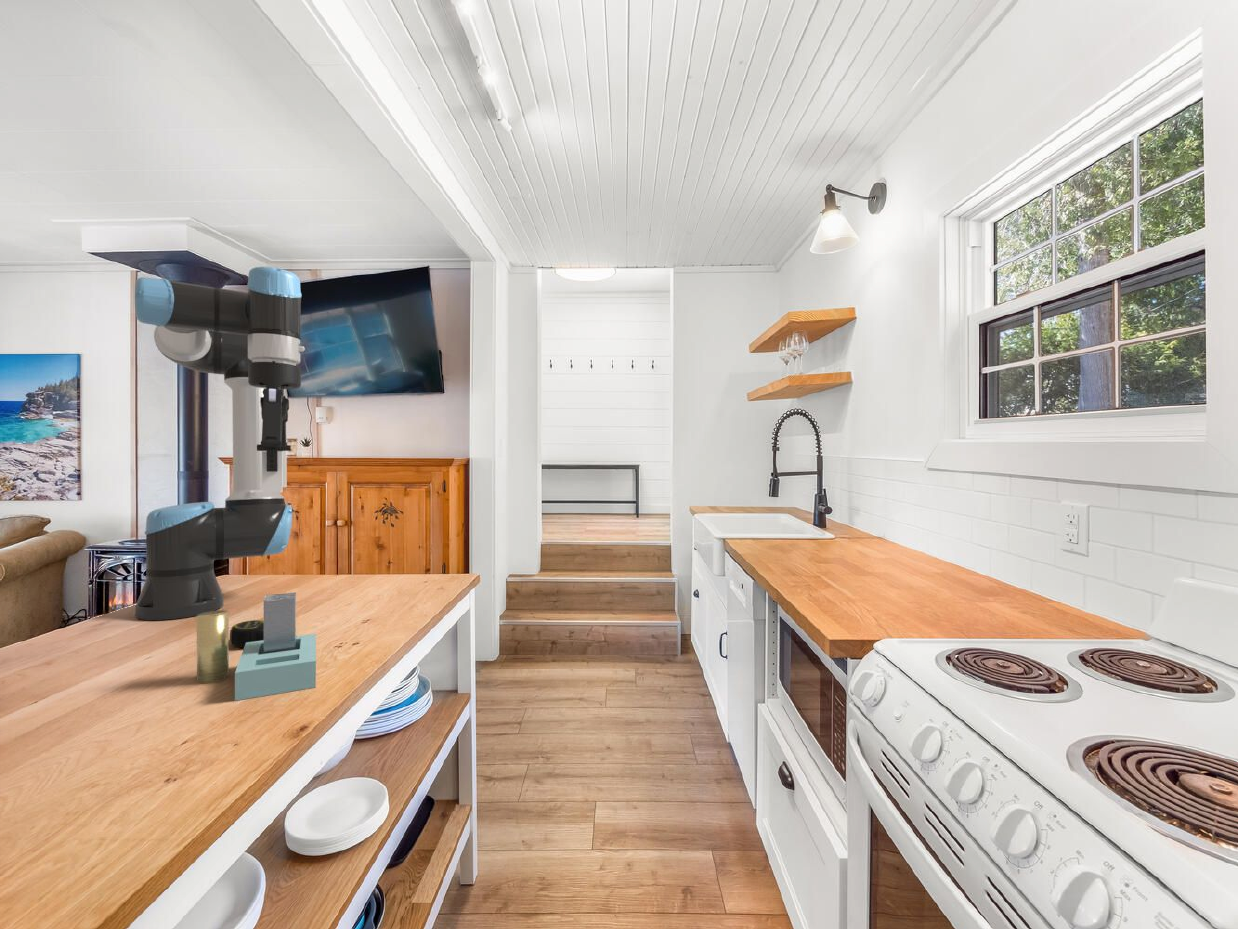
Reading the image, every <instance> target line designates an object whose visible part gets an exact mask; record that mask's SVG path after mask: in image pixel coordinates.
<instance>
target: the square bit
mask: <svg viewBox="0 0 1238 929" xmlns="http://www.w3.org/2000/svg"><path fill="white" fill-rule="evenodd" d="M296 599H297V593H296V592H295V591H294V592H286V593H275V594H266V595H265V596H264V599H263V621H264V654H268V653H275V652H282V651H289V650H296V636H297V625H296V624H297V617H296V616H297V608H296V606H297V603H296V602H297V601H296Z"/></svg>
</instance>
